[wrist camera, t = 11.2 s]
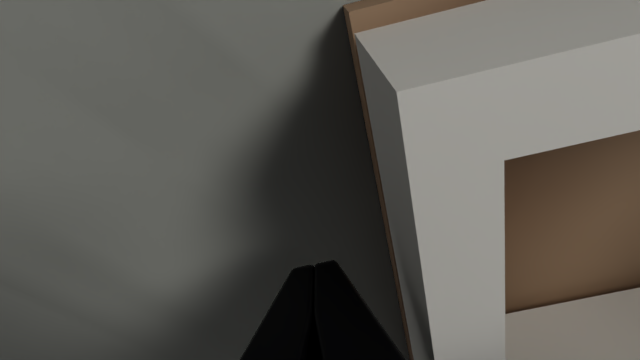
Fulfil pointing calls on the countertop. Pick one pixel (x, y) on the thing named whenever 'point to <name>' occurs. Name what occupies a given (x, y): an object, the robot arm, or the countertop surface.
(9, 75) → the countertop surface
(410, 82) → the white bent bar
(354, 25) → the board
